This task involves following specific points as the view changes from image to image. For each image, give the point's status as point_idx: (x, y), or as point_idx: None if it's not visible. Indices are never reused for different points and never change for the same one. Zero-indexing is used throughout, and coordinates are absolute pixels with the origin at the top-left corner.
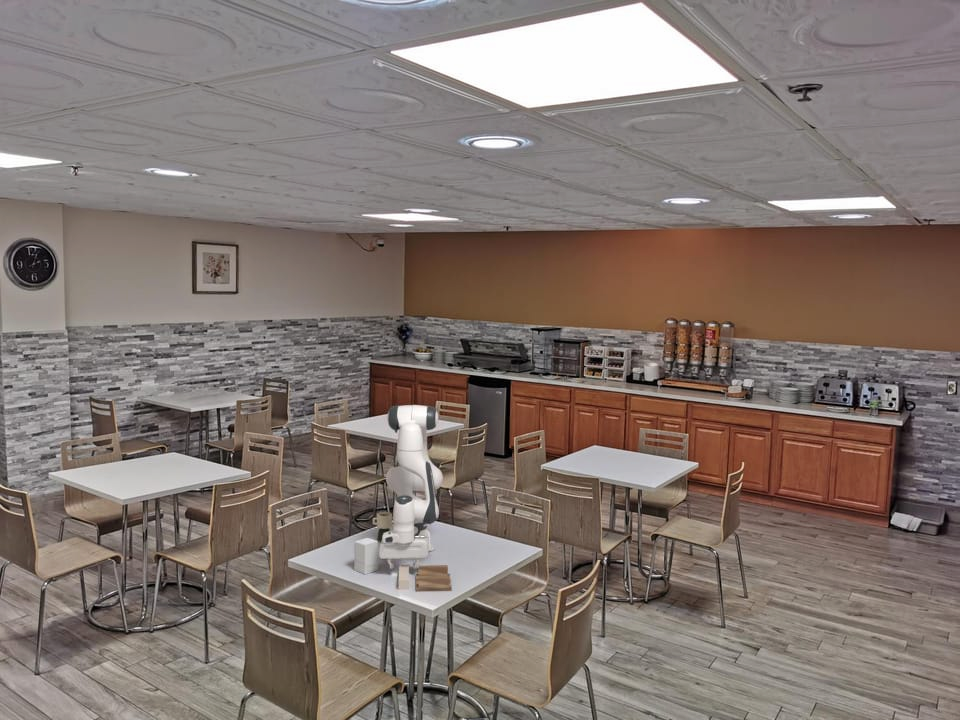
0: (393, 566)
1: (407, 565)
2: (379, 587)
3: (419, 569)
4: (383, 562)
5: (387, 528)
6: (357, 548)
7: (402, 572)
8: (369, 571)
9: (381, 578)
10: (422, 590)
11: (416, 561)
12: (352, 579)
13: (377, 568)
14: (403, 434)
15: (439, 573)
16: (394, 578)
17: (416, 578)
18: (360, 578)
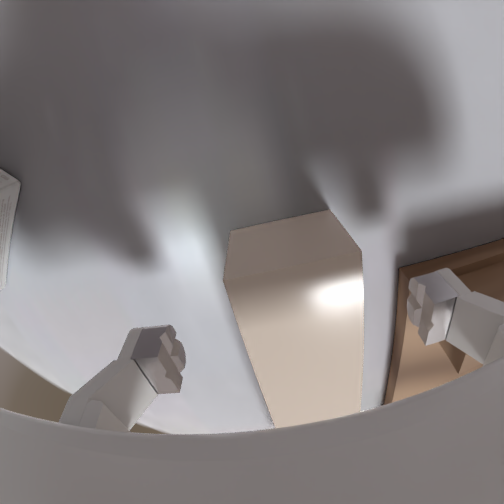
0: (181, 377)
1: (343, 254)
2: (181, 427)
3: (456, 356)
4: (23, 5)
5: None
6: None
7: (305, 416)
8: (3, 263)
9: (123, 335)
10: None
11: (479, 337)
12: (10, 349)
13: (11, 191)
14: None
15: None
16: (219, 326)
17: (404, 355)
18: (25, 338)
